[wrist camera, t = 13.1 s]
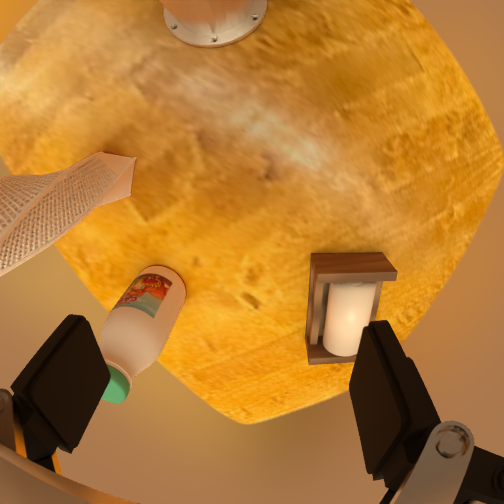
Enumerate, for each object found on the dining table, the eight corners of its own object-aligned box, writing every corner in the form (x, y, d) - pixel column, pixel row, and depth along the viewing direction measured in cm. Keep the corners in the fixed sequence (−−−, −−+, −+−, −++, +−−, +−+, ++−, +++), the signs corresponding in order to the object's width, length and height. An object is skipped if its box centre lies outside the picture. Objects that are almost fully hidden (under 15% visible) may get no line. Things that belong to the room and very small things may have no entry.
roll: (326, 269, 38) (335, 292, 32) (368, 268, 38) (383, 290, 32) (319, 331, 42) (325, 359, 37) (357, 329, 42) (367, 355, 36)
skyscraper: (148, 150, 34) (-49, 219, 8) (139, 205, 37) (-20, 336, 11) (97, 142, 33) (-90, 197, 8) (91, 194, 36) (-71, 293, 11)
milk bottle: (196, 283, 41) (151, 393, 22) (173, 318, 43) (128, 422, 25) (150, 253, 39) (76, 347, 21) (130, 291, 42) (66, 384, 24)
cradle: (311, 253, 38) (317, 274, 33) (381, 252, 37) (397, 271, 32) (305, 338, 44) (308, 364, 38) (366, 335, 43) (375, 359, 38)
